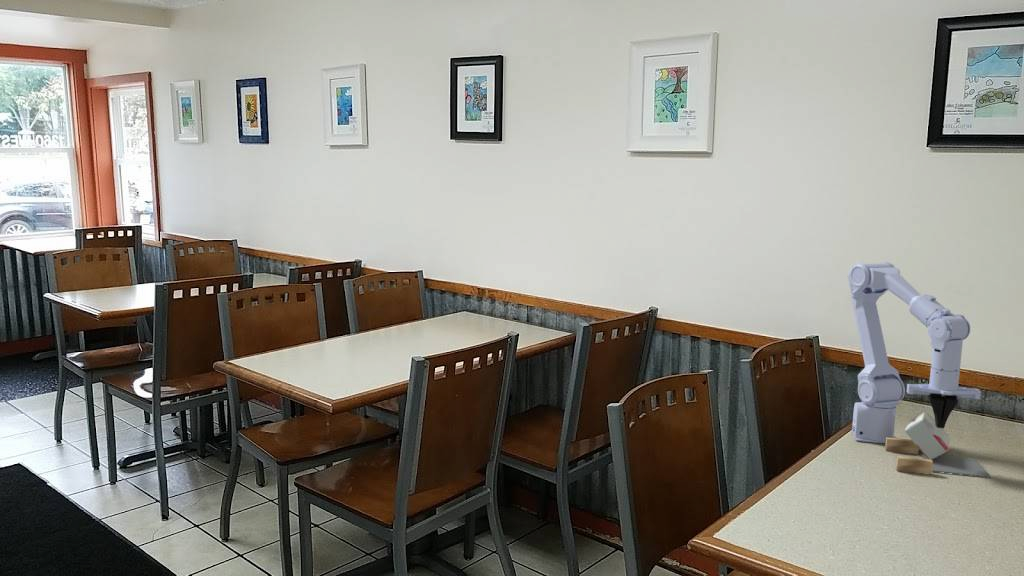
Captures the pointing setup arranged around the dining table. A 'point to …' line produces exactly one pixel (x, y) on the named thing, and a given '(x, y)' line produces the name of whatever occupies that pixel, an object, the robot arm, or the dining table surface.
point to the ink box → (928, 435)
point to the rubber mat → (958, 466)
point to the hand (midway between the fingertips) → (939, 426)
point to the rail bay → (905, 462)
